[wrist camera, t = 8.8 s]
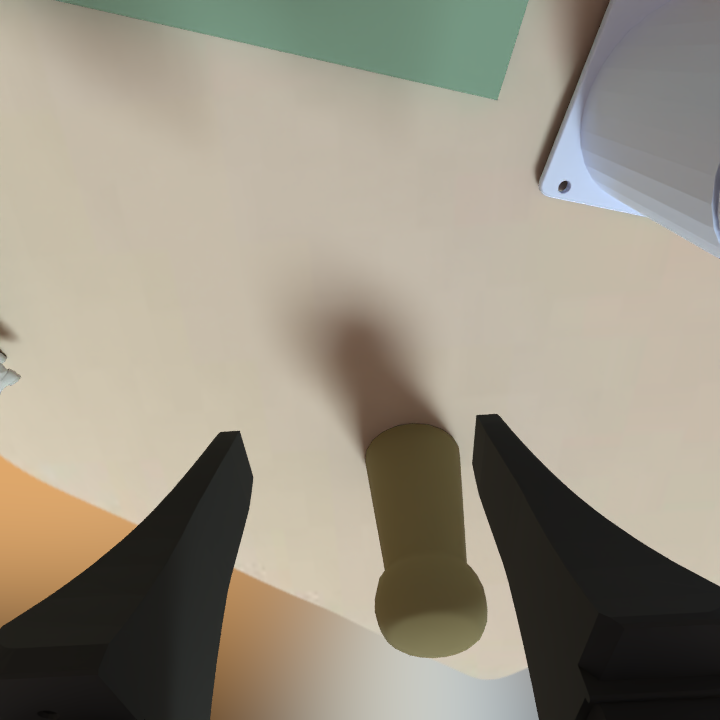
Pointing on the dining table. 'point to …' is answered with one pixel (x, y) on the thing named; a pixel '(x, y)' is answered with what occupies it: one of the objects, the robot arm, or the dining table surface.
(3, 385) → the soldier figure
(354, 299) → the dining table surface
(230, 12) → the pitch
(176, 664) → the robot arm
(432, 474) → the cork
